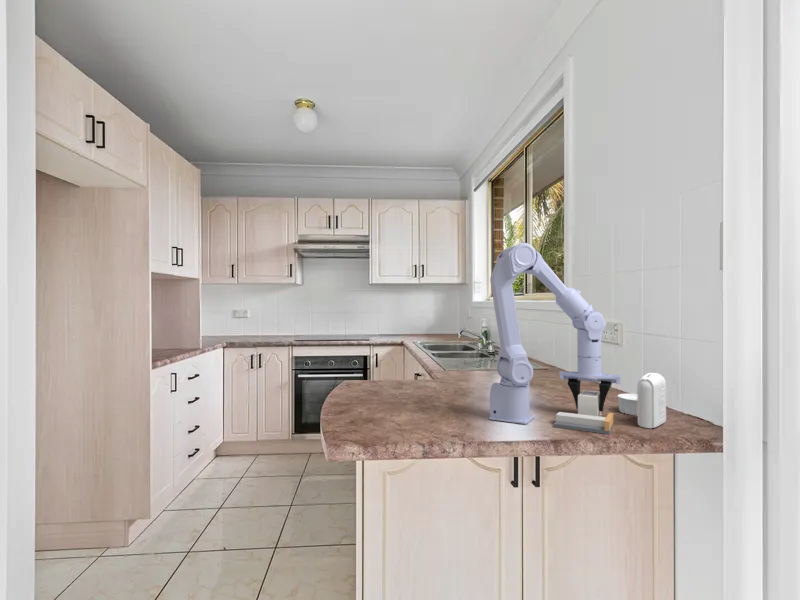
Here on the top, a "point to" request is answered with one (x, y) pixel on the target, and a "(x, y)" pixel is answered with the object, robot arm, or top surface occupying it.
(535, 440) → the top surface
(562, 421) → the rail mount
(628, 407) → the ramekin
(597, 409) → the block
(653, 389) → the photo printer
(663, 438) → the top surface
